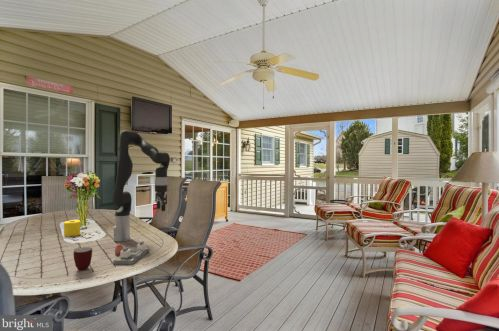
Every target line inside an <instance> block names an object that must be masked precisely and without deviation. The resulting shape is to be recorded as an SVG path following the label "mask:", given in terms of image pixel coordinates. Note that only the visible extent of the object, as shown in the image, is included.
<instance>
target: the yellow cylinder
mask: <svg viewBox="0 0 499 331" xmlns="http://www.w3.org/2000/svg"><path fill="white" fill-rule="evenodd" d="M78 235H81V220H79V219H75V220H74V219H72V220H66V221H64V222H63V236H64V237H76V236H78Z"/></svg>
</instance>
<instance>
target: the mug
mask: <svg viewBox="0 0 499 331" xmlns="http://www.w3.org/2000/svg"><path fill="white" fill-rule="evenodd" d="M92 257H93V248H92V247H91V246H90V247H89V246H88V247H86V246H85V247H84V246H83V247H79V248H76V249H74V250H73V260H74V265H75V267H76V269H77V270H78V271H80V272H84V271H86V270H88V269H89V268H90V265H91V262H92Z"/></svg>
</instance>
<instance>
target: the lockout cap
mask: <svg viewBox="0 0 499 331" xmlns="http://www.w3.org/2000/svg"><path fill="white" fill-rule="evenodd" d="M123 249H124V245H123V244H121V243H117V244H116V245H115V247H114V255H115V256H117V257H119V256H120V251H121V250H123Z"/></svg>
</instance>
